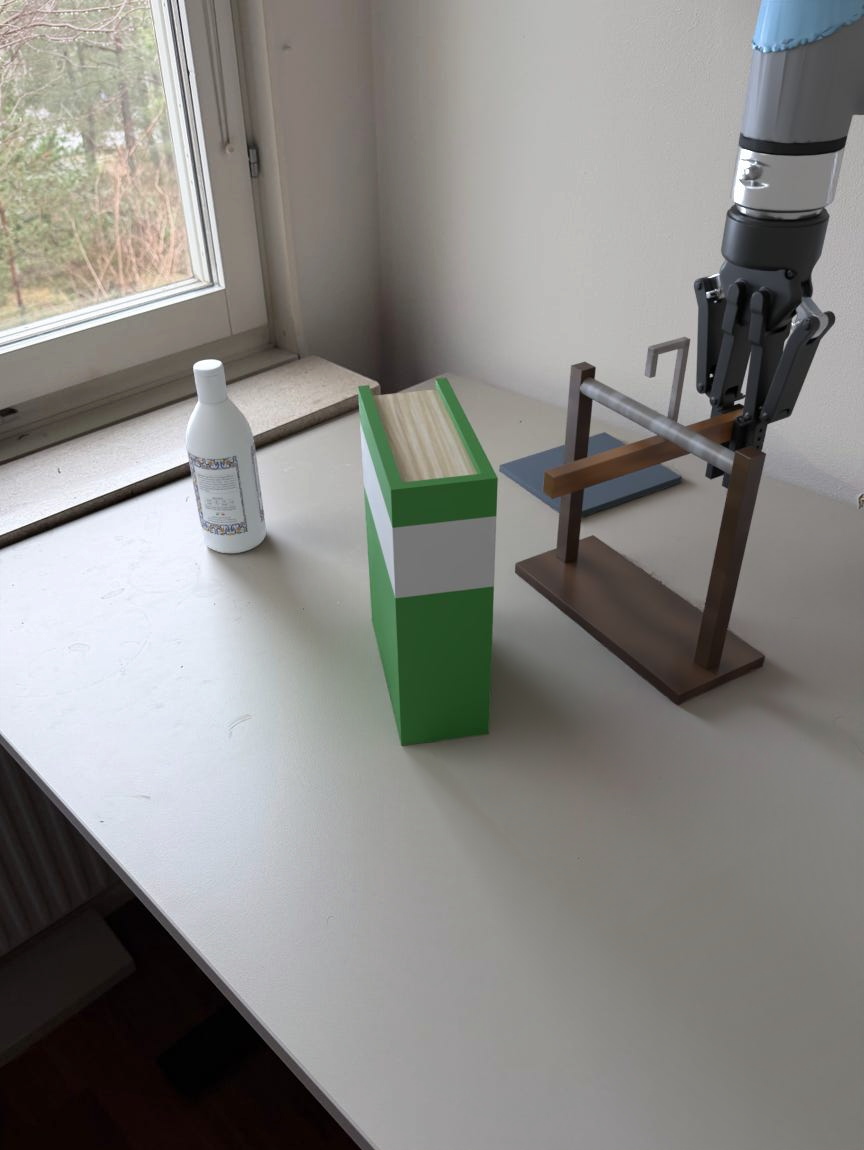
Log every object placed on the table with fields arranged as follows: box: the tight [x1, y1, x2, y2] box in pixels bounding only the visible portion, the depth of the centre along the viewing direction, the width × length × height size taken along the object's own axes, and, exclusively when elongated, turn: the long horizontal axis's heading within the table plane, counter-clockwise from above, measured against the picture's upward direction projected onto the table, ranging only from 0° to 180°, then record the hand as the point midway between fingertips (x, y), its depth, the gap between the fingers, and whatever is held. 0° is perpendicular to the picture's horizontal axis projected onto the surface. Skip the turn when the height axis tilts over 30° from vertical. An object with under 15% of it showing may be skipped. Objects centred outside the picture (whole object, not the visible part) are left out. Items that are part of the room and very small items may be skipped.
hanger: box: [543, 336, 744, 499], centre depth 80 cm, size 22×1×10 cm, turn 119°
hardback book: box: [357, 377, 499, 746], centre depth 80 cm, size 18×7×24 cm, turn 9°
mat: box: [498, 431, 683, 518], centre depth 115 cm, size 16×14×1 cm
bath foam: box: [185, 359, 267, 554], centre depth 101 cm, size 7×7×20 cm
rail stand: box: [514, 361, 767, 706], centre depth 86 cm, size 10×24×22 cm, turn 29°
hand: (727, 478), depth 89 cm, fingers closed on hanger
